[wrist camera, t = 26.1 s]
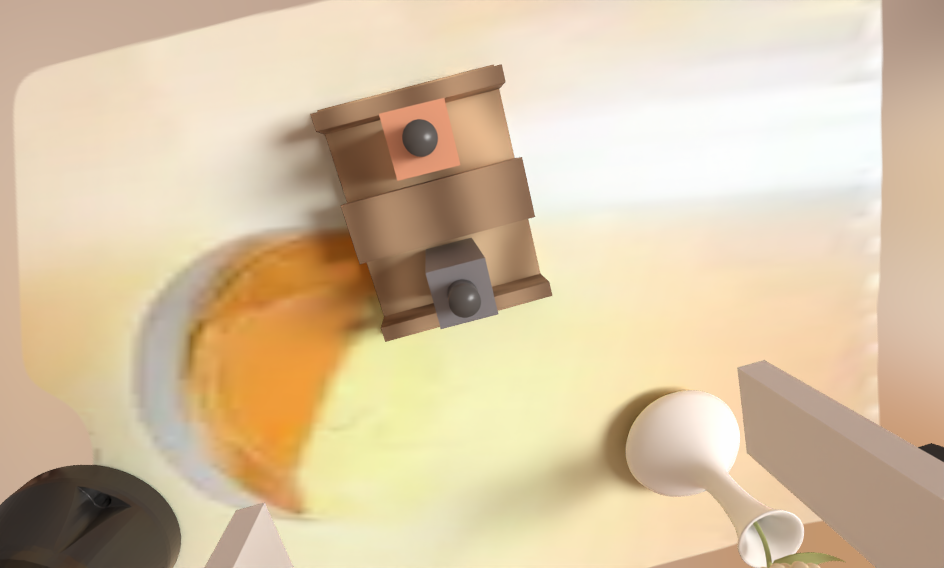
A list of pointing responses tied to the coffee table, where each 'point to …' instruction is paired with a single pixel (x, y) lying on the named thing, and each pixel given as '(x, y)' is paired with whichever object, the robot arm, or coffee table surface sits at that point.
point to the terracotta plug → (420, 139)
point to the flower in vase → (712, 474)
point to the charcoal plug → (459, 283)
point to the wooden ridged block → (435, 198)
